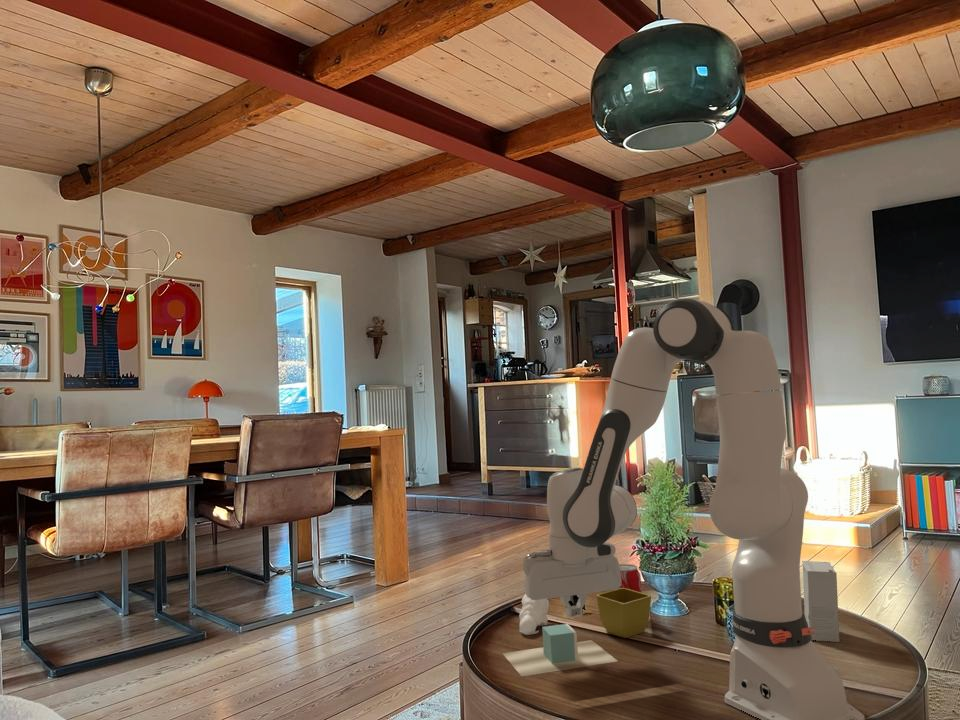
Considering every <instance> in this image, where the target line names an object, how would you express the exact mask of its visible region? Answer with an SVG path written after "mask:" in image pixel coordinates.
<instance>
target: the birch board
mask: <svg viewBox="0 0 960 720" xmlns="http://www.w3.org/2000/svg"><path fill="white" fill-rule="evenodd" d="M577 648H578V660H575V661H568V662H561V663H553V664H552V663H551V662H550V661H549V660H548V659H547V657H546V656H545V655H544V652H543V646H542V647H536V648H529V649H523V650H517V651H510V652H503V653H502V655H503V656H504V657H505V659H506V661H508V662H509V664H510V665H512V667H513V668H514V670H516V672H517V673H518V674H519V676H520V677H521V678H522V677H523V678H524V677H528V676H535V675H541V674H547V673H548V674H549V673H554V672H555V673H556V672H560V671H566V670H572V669H578V668H579V669H580V668H586V667H593V666H599V665H604V664H610V663H611V664H612V663H619V661H618V660H617V659H616V658H614V657H613V656H612V655H611V654H610V653H608V651H606V650H605V649H604V648H603V647H602V646H600V645H599V644H597V643H596V642H594V641H593V640H592V639H590V640H589V639H588V640H584V641H583V640H582V641H577Z"/></svg>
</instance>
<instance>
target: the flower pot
mask: <svg viewBox="0 0 960 720" xmlns="http://www.w3.org/2000/svg"><path fill="white" fill-rule="evenodd" d="M596 601H597V602H596V603H597V607H598V612H599V618H600V621H601V624H602V625H603V627H604V629H605V630H606V632H607V633H609V634H612V635H615V636H618V637H621V638H624V639H625V638H626V639H627V638H630V637H634V636H636V635H639V634H643V633H644V632H645V630H646V628H647V626H648V623H649V619H650V614H651V613H650V612H651V603H652V595H649V594H647V593H643V592H642V593H641V592H637V591H633V590H630V589H626V588H620V589H617V590H612V591H611V590H609V591H604V592H602V593H598V594H596Z"/></svg>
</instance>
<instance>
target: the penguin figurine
mask: <svg viewBox="0 0 960 720" xmlns="http://www.w3.org/2000/svg"><path fill="white" fill-rule="evenodd" d="M521 605H522V607H521V611H519V615H518V616H519V621H520V622H519V629H518V631H519V632H520V634H523V635H525V636H530V635H534V634H535V635H536V634H538V633H539V631H540V630H539V629H538V630H536V629H537V627H538V626H547V625H548V616H547V614H548V612H549V605H550V602H549V600H548V599H540V600H531V599H530V598H529V597H528V596H527V595H526V594H525V593H524V596H523V597H522V598H521ZM548 626H549V625H548Z"/></svg>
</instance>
